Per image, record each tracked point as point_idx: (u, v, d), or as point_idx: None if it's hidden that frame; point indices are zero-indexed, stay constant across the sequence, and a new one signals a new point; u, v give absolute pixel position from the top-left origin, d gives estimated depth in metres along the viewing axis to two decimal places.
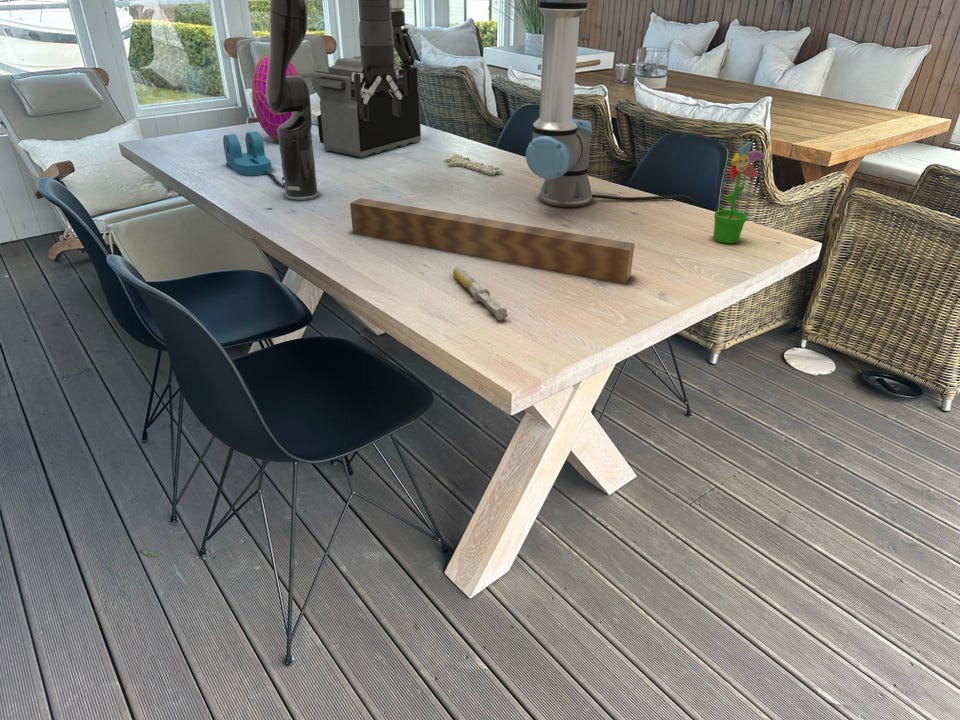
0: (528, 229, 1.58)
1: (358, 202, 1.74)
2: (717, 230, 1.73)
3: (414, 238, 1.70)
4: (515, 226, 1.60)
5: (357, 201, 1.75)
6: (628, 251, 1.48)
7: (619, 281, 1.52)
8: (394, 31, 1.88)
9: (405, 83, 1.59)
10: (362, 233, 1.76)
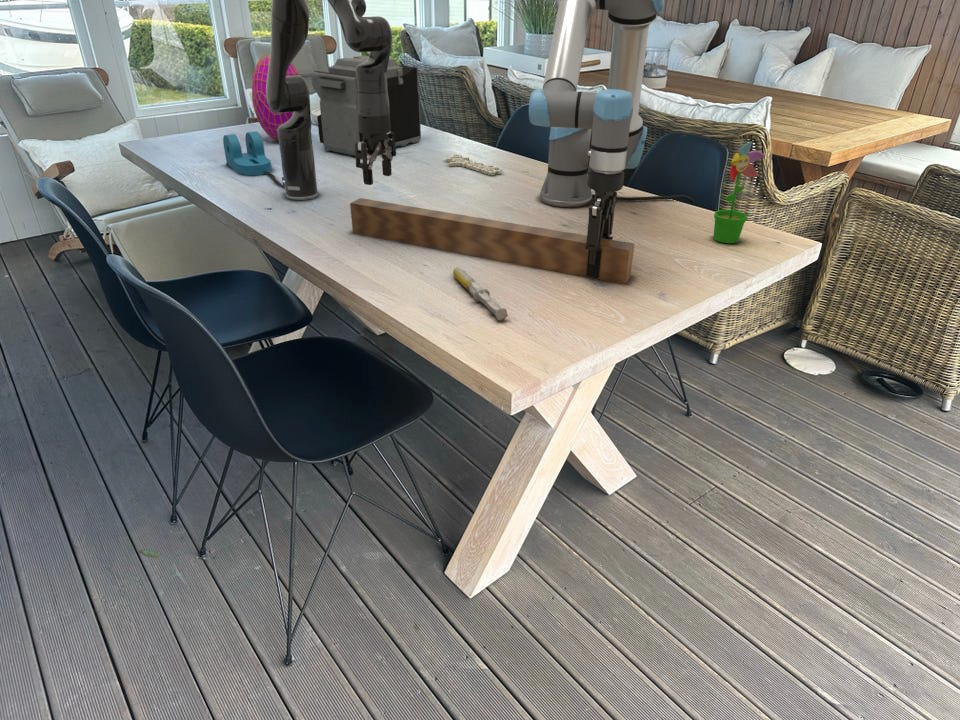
0: (528, 229, 1.58)
1: (358, 202, 1.74)
2: (717, 230, 1.73)
3: (414, 238, 1.70)
4: (515, 226, 1.60)
5: (357, 201, 1.75)
6: (628, 251, 1.48)
7: (619, 281, 1.52)
8: (608, 194, 1.46)
9: (394, 145, 1.70)
10: (362, 233, 1.76)
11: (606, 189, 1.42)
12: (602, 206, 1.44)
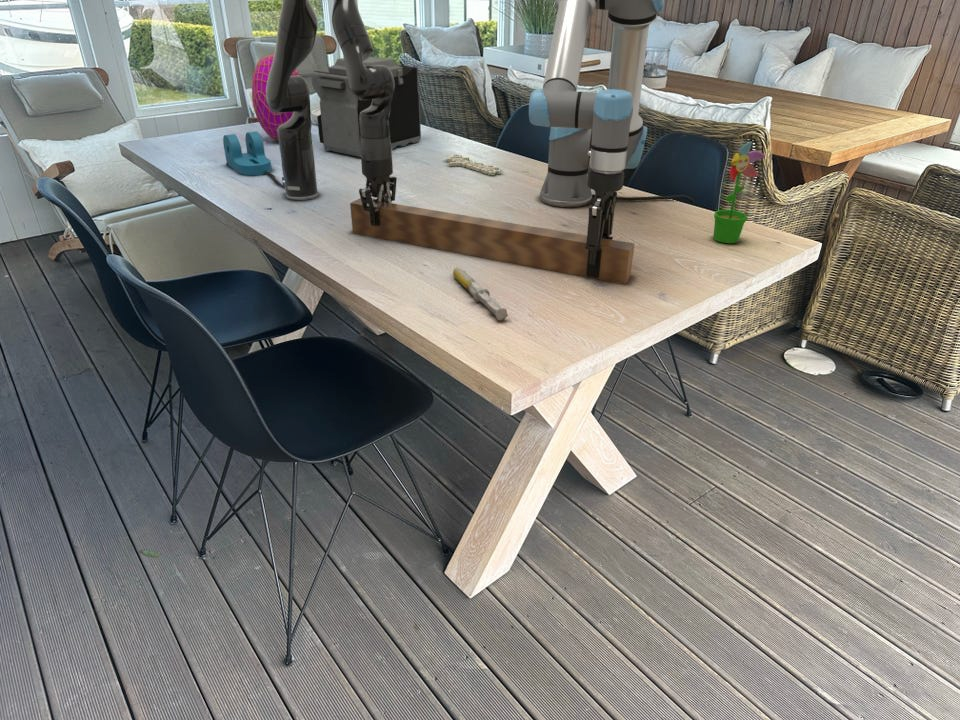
0: (528, 229, 1.58)
1: (358, 202, 1.74)
2: (717, 230, 1.73)
3: (414, 238, 1.70)
4: (515, 226, 1.60)
5: (357, 201, 1.75)
6: (628, 251, 1.48)
7: (619, 281, 1.52)
8: (608, 194, 1.46)
9: (394, 190, 1.75)
10: (362, 233, 1.76)
11: (606, 189, 1.42)
12: (602, 206, 1.44)
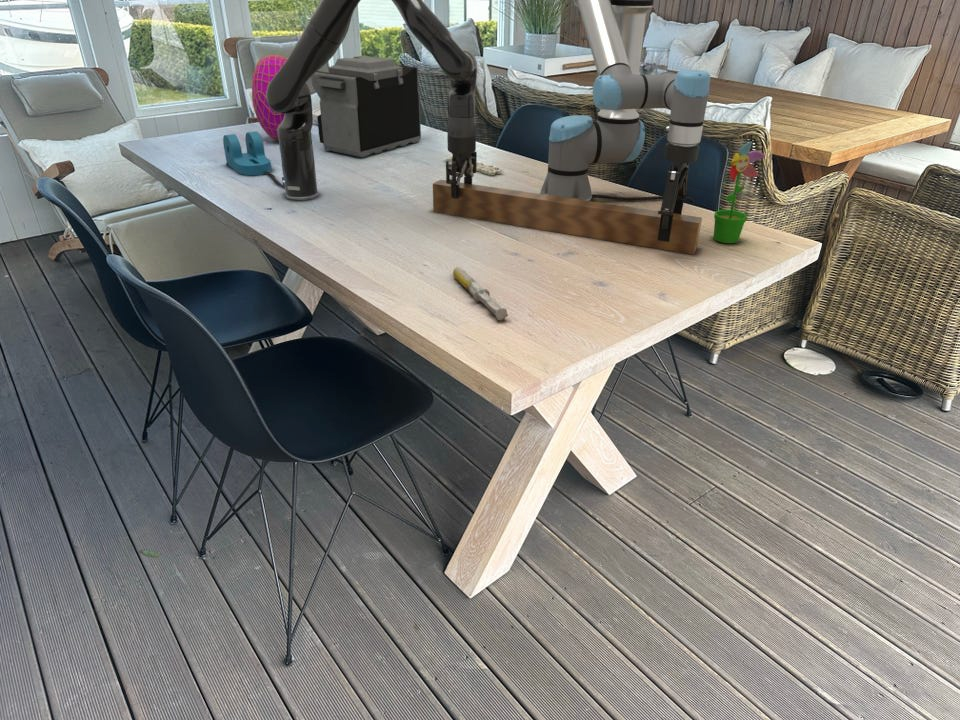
0: (602, 205, 1.73)
1: (440, 183, 1.89)
2: (717, 230, 1.73)
3: (493, 215, 1.85)
4: (590, 203, 1.75)
5: (438, 182, 1.90)
6: (697, 224, 1.63)
7: (688, 252, 1.67)
8: (683, 166, 1.60)
9: (475, 163, 1.90)
10: (442, 212, 1.92)
11: (683, 160, 1.57)
12: (679, 176, 1.59)
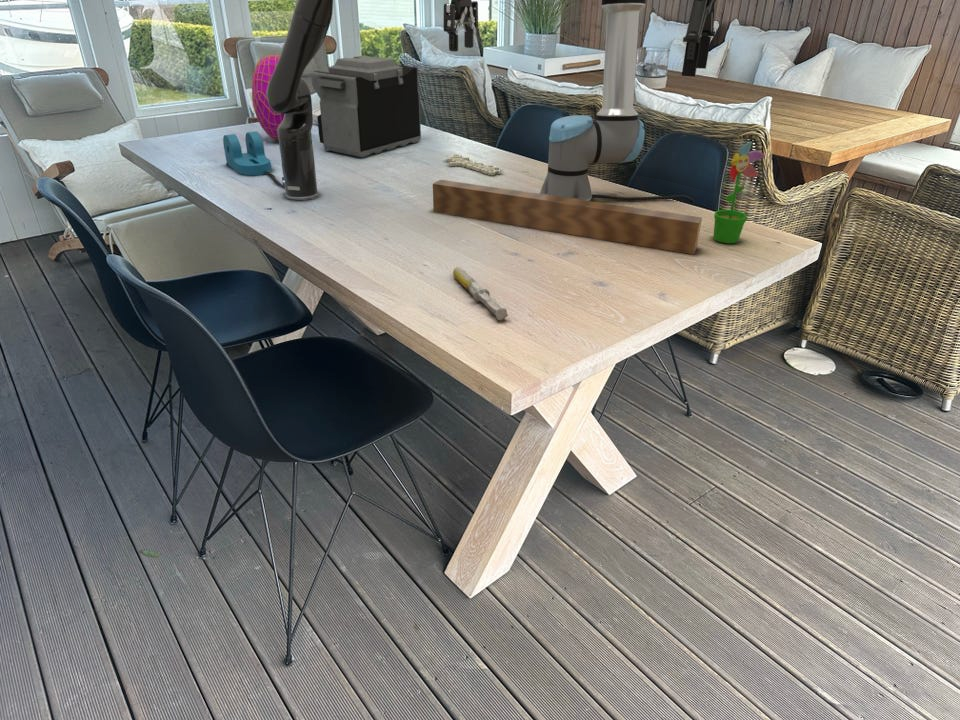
0: (602, 205, 1.73)
1: (440, 183, 1.89)
2: (717, 230, 1.73)
3: (493, 215, 1.85)
4: (590, 203, 1.75)
5: (438, 182, 1.90)
6: (697, 224, 1.63)
7: (688, 252, 1.67)
8: None
9: (477, 15, 1.71)
10: (442, 212, 1.92)
11: None
12: None
